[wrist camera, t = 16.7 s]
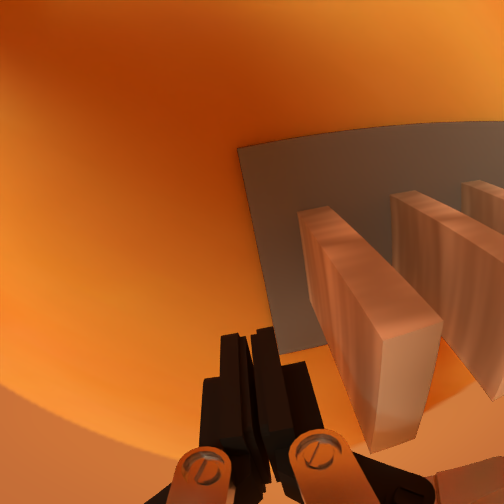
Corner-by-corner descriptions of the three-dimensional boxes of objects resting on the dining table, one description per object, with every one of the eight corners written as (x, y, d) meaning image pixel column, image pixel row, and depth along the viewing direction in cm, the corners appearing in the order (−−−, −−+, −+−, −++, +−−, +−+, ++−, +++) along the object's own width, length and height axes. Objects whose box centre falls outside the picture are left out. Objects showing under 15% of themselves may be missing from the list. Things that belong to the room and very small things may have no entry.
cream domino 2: (392, 279, 17) (492, 401, 8) (389, 194, 16) (532, 284, 6) (415, 273, 17) (520, 385, 8) (415, 190, 15) (559, 270, 6)
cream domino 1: (309, 299, 18) (370, 453, 8) (296, 211, 16) (383, 340, 6) (337, 292, 17) (415, 438, 8) (328, 205, 16) (443, 321, 6)
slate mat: (278, 350, 19) (279, 355, 19) (236, 148, 15) (237, 149, 14) (565, 255, 19) (568, 257, 18) (574, 125, 14) (578, 126, 14)
